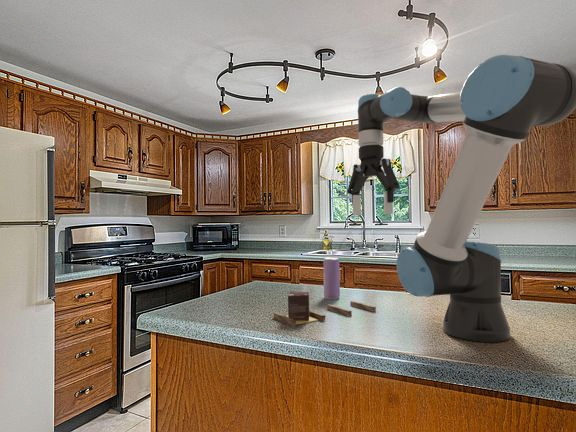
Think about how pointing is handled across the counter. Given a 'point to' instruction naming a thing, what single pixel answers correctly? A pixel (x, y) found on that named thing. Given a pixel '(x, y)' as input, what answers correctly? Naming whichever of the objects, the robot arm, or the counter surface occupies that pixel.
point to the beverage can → (331, 278)
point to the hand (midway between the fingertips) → (371, 214)
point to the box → (298, 305)
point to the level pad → (306, 320)
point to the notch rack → (322, 317)
